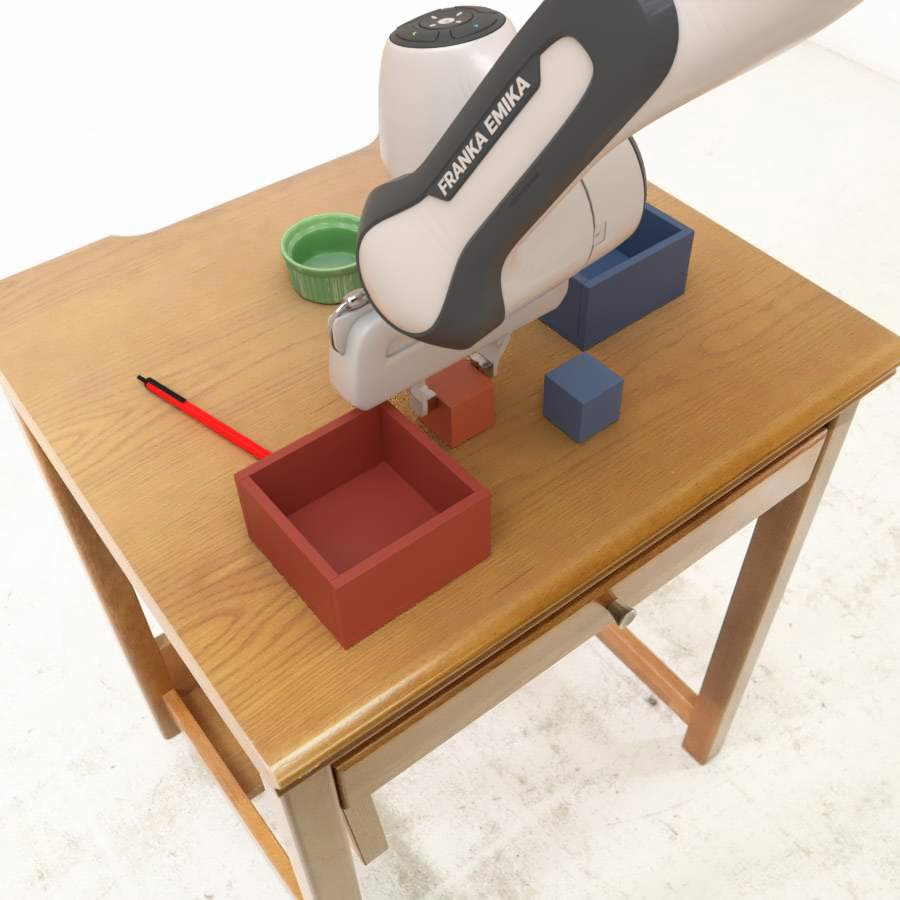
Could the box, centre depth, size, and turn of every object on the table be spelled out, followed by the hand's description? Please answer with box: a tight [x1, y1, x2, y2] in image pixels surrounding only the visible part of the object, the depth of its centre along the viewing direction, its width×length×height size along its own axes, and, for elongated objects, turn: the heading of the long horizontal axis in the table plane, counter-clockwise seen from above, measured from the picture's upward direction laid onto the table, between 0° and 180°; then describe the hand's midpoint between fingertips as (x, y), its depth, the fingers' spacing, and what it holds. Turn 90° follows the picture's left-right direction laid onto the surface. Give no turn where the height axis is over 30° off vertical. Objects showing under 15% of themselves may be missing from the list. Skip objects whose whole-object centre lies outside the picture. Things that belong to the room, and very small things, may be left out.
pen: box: [136, 374, 273, 460], centre depth 85 cm, size 1×19×1 cm, turn 52°
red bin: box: [233, 399, 492, 651], centre depth 75 cm, size 13×13×7 cm
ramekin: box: [279, 212, 363, 305], centre depth 98 cm, size 9×9×4 cm
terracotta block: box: [418, 358, 496, 449], centre depth 84 cm, size 4×4×4 cm
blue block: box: [541, 350, 625, 444], centre depth 84 cm, size 4×4×4 cm
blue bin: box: [537, 201, 696, 352], centre depth 95 cm, size 13×13×7 cm
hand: (454, 392), depth 83 cm, fingers open, 5 cm apart
